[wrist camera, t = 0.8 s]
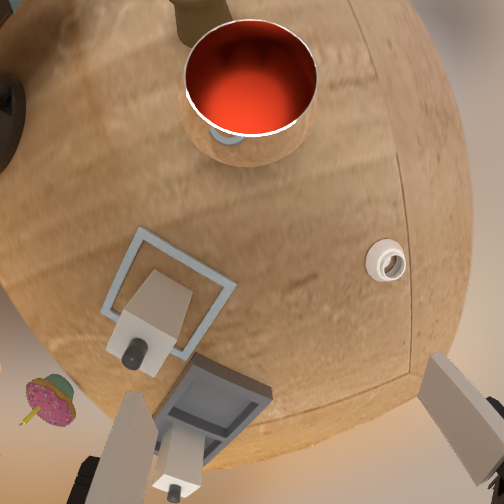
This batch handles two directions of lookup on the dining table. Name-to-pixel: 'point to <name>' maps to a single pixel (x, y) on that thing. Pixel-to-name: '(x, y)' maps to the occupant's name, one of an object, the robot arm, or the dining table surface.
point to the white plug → (179, 462)
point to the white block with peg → (150, 324)
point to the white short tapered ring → (385, 260)
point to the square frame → (183, 258)
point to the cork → (199, 18)
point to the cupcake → (51, 400)
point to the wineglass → (248, 93)
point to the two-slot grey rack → (211, 404)
